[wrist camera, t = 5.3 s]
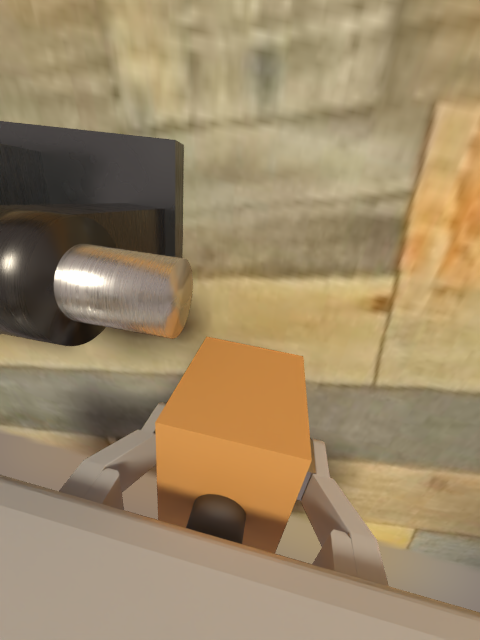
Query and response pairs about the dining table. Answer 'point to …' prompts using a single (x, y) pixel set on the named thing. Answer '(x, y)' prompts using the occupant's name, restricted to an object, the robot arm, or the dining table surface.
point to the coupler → (234, 444)
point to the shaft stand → (90, 234)
